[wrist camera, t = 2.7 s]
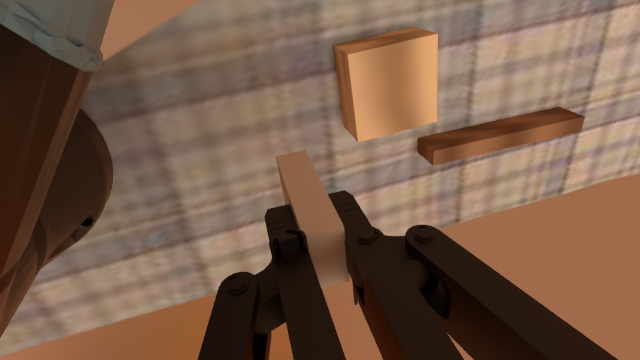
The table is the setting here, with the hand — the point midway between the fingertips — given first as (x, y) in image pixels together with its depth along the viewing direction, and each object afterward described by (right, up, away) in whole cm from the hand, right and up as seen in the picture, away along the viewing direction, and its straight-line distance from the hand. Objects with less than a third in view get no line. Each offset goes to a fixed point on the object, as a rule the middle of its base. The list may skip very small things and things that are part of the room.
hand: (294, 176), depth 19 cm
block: (+6, +9, +13) cm, 17 cm away
